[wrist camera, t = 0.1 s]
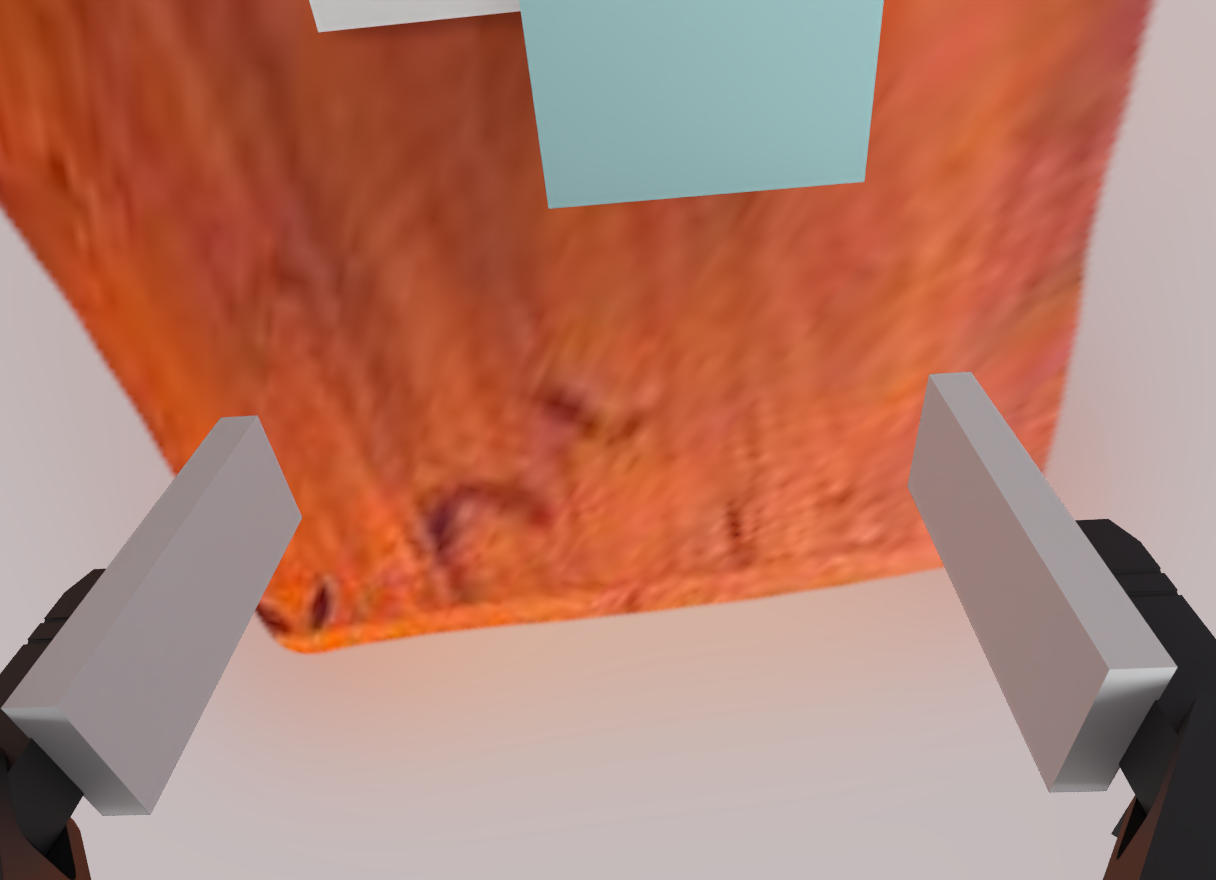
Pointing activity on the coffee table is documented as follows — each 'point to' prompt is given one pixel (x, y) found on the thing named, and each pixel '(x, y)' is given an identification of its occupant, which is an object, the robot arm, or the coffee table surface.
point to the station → (680, 90)
